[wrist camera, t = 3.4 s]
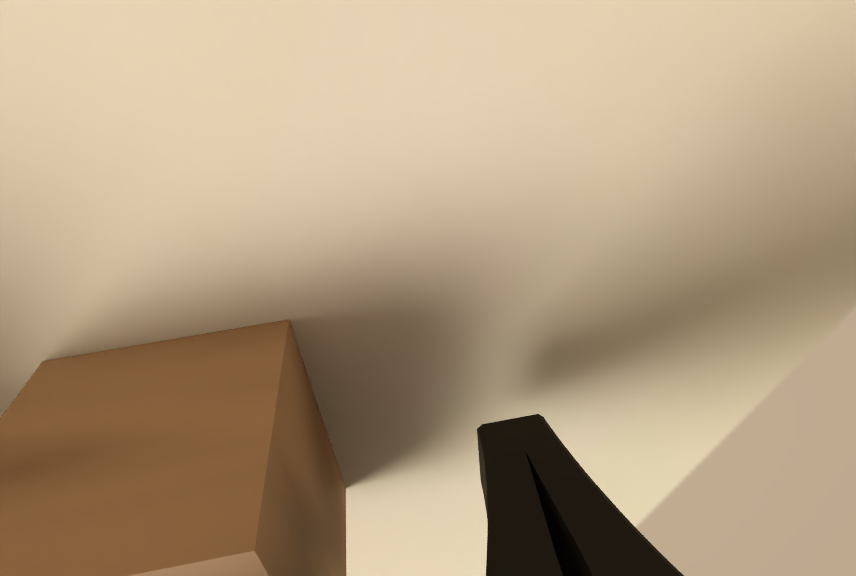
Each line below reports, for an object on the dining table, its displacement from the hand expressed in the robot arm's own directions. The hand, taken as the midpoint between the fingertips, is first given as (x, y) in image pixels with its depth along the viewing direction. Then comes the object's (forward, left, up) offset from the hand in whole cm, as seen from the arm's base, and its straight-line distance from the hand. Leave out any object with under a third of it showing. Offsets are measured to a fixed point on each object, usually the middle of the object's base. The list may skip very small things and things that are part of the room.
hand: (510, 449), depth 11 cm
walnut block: (0, +7, -2) cm, 7 cm away
